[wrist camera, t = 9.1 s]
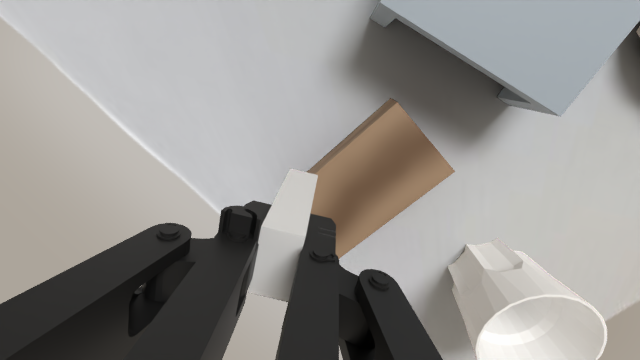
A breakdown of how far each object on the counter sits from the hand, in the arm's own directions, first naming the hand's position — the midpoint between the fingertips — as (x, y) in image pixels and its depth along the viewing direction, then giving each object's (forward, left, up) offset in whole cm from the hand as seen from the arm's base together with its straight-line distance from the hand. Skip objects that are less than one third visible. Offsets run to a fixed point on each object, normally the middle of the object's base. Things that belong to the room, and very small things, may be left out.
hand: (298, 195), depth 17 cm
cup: (+24, -4, -15) cm, 28 cm away
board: (+6, -1, -15) cm, 16 cm away
